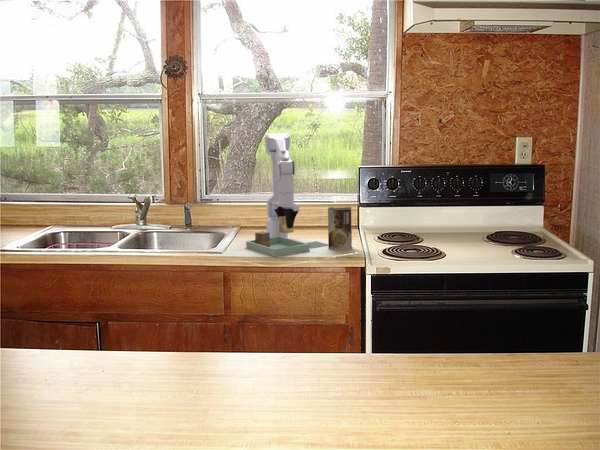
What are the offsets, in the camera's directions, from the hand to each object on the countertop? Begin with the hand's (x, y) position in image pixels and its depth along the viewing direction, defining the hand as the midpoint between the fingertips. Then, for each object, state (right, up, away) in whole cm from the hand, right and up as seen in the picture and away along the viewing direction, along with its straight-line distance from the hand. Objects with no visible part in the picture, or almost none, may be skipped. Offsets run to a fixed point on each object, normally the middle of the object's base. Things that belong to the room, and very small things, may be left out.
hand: (286, 227), depth 248 cm
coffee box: (+21, -9, +4) cm, 23 cm away
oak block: (0, -2, 0) cm, 2 cm away
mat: (+11, -8, +9) cm, 16 cm away
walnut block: (-9, -8, +4) cm, 13 cm away
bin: (-4, -9, +1) cm, 10 cm away
